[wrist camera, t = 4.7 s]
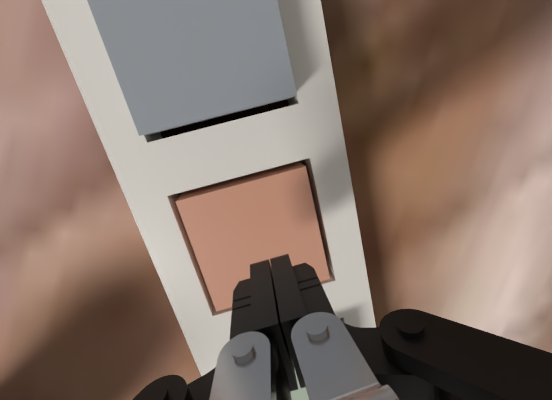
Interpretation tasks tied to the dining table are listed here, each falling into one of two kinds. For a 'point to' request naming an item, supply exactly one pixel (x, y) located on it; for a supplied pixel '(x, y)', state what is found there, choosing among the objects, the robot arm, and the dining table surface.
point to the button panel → (226, 167)
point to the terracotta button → (252, 226)
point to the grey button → (194, 57)
